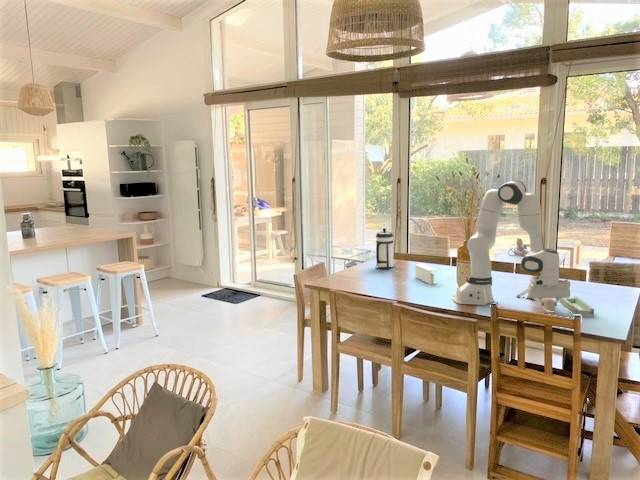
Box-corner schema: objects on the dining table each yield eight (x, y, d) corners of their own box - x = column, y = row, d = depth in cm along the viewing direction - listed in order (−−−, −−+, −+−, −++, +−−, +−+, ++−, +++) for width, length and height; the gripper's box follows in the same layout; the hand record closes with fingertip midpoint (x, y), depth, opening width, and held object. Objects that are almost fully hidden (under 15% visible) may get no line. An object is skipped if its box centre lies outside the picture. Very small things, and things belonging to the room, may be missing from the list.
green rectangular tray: (574, 316, 244) (574, 308, 243) (559, 303, 265) (559, 296, 265) (593, 316, 243) (594, 308, 242) (576, 303, 264) (576, 296, 264)
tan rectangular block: (547, 313, 251) (547, 302, 250) (537, 303, 267) (538, 293, 266) (554, 313, 251) (554, 302, 250) (544, 303, 266) (544, 293, 265)
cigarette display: (436, 283, 316) (436, 269, 314) (429, 284, 315) (429, 270, 313) (421, 276, 335) (421, 263, 333) (414, 277, 334) (414, 264, 332)
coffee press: (371, 266, 372) (370, 227, 367) (392, 264, 373) (391, 226, 368) (376, 271, 355) (376, 231, 350) (398, 270, 356) (397, 229, 351)
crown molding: (536, 286, 302) (536, 280, 302) (556, 289, 294) (556, 283, 293) (516, 298, 280) (516, 292, 279) (537, 301, 272) (537, 295, 271)
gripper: (568, 278, 254) (567, 303, 256) (527, 278, 257) (526, 303, 259) (572, 281, 248) (571, 307, 250) (530, 281, 250) (530, 307, 253)
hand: (548, 305), depth 255 cm, fingers open, 5 cm apart
